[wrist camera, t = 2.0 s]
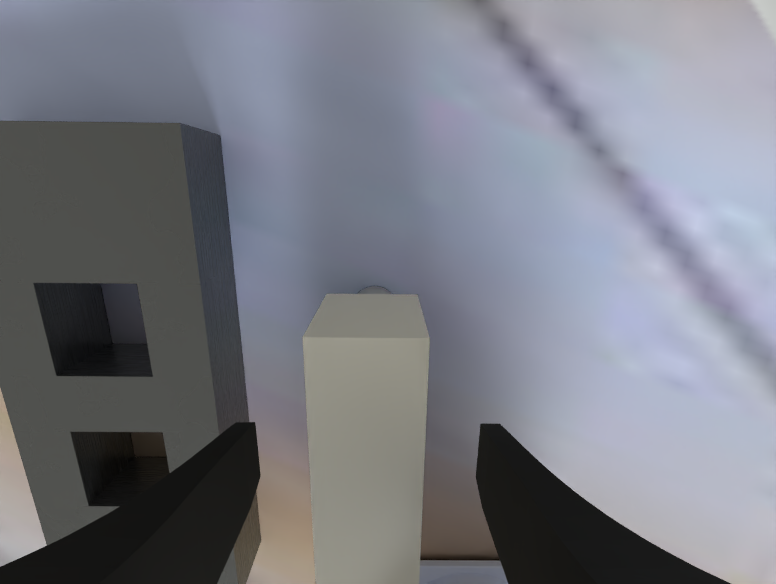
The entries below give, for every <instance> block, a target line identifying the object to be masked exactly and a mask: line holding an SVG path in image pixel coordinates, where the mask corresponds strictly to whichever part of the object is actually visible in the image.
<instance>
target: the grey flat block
mask: <svg viewBox="0 0 776 584" xmlns="http://www.w3.org/2000/svg"><path fill="white" fill-rule="evenodd" d="M100 283H117V284H137V287H138V293H139V299H140V304H141V310H142V316H143V322H144V328H145V333H146V339H147V344H112V341H111V336H110V331H109V326H108V321H107V316H106V311H105V306H104V301H103V296H102V291H101V286H100ZM0 387H1V391H2V394H3V398H4V401H5V404H6V408H7V411H8V415H9V418H10V421H11V425H12V428H13V432H14V435H15V438H16V442H17V445H18V449H19V452H20V455H21V459H22V462H23V465H24V469H25V472H26V476H27V479H28V482H29V486H30V489H31V493H32V496H33V499H34V503H35V506H36V510H37V513H38V516H39V520H40V523H41V527H42V530H43V533H44V537H45V540H46V544H47V545H49V544H51V543H53V542H55V541H57V540H59V539H62V538H64V537H65V536H67V535H69V534H71V533H73V532H75V531H77V530H79V529H80V528H82V527H84V526H86V525H88V524H90V523H91V522H93V521H95V520H97V519H99V518H101V517H103V516H104V515H106V514H108V513H110V512H111V511H113V510H115V509H117V508H118V507H120V506H121V505H123V504H125V503H126V502H128V501H130V500H131V499H133V498H134V497H136V496H138V495H139V494H141V493H142V492H144V491H145V490H147V489H148V488H150V487H151V486H153V485H154V484H156V483H157V482H158V481H160V480H161V479H162V478H164V477H165V476H167V475H168V474H169V473H171V472H172V471H174V470H175V469H176V468H178V467H179V466H181V465H182V464H183V463H185V462H186V461H187V460H189V459H190V458H191V457H192V456H194V455H195V454H196V453H197V452H199V451H200V450H201V449H203V448H204V447H205V446H206V445H208V444H209V443H210V442H211V441H213V440H214V439H215V438H216V437H218V436H219V435H220V434H221V433H223V432H224V431H225V430H226V429H228V428H229V427H230V426H232V425H233V424H234V423H236V422H249V416H248V406H247V396H246V386H245V376H244V366H243V356H242V346H241V337H240V327H239V317H238V307H237V297H236V287H235V277H234V267H233V257H232V247H231V237H230V227H229V217H228V207H227V198H226V188H225V178H224V168H223V158H222V148H221V138H220V135H218V134H214V133H211V132H208V131H204V130H201V129H198V128H194V127H191V126H188V125H185V124H181V123H132V122H50V121H0ZM130 432H163V438H164V443H165V449H166V455H167V457H135V456H134V451H133V446H132V441H131V436H130ZM260 542H261V535H260V525H259V515H258V505H257V495H256V493H255V496H254V499H253V502H252V505H251V508H250V511H249V513H248V515H247V518H246V520H245V522H244V525H243V527H242V529H241V531H240V534H239V536H238V538H237V540H236V543H235V545H234V547H233V549H232V552H231V554H230V556H229V558H228V561H227V563H226V565H225V567H224V570H223V572H222V574H221V576H220V578H219V581H218V583H217V584H246V582H247V579H248V576H249V573H250V570H251V568H252V565H253V562H254V559H255V556H256V553H257V551H258V548H259V545H260Z"/></svg>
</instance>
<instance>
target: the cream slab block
mask: <svg viewBox="0 0 776 584" xmlns="http://www.w3.org/2000/svg"><path fill="white" fill-rule="evenodd" d="M429 346H430V337H429V334H428V330H427V327H426V323H425V320H424V316H423V312H422V309H421V305H420V302H419V298H418V295H417V294H392V293H391V292H389V291H388V290H387V289H385V288H382V287H379V286H370V287H366V288H364V289H362V290H361V291H359V292H358V293H357V294H326V296H325V297H324V299H323V301H322V303H321V305H320V307H319V308H318V310H317V312H316V314H315V316H314V317H313V319H312V321H311V323H310V325H309V326H308V328H307V330H306V332H305V334H304V335H303V356H304V375H305V393H306V412H307V431H308V449H309V468H310V487H311V505H312V524H313V543H314V561H315V580H316V584H419V576H420V553H421V530H422V507H423V484H424V461H425V438H426V415H427V392H428V369H429Z"/></svg>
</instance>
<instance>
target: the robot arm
mask: <svg viewBox="0 0 776 584" xmlns="http://www.w3.org/2000/svg"><path fill="white" fill-rule="evenodd" d="M259 479H260V466H259V456H258V446H257V436H256V425H255V422H236V423H234V424H233V425H232V426H230V427H229V428H228V429H226V430H225V431H224V432H223V433H221V434H220V435H219V436H218V437H216V438H215V439H214V440H213V441H211V442H210V443H209V444H208V445H206V446H205V447H204V448H203V449H201V450H200V451H199V452H197V453H196V454H195V455H194V456H192V457H191V458H190V459H189V460H187V461H186V462H185V463H183V464H182V465H181V466H179V467H178V468H176V469H175V470H174V471H172V472H171V473H169V474H168V475H167V476H165V477H164V478H162V479H161V480H160V481H158V482H157V483H156V484H154V485H153V486H151V487H150V488H148V489H147V490H145V491H144V492H142V493H141V494H139V495H138V496H136V497H134V498H133V499H131V500H130V501H128V502H126V503H125V504H123V505H121V506H120V507H118V508H117V509H115V510H113V511H111V512H110V513H108V514H106V515H104V516H103V517H101V518H99V519H97V520H95V521H93V522H91V523H90V524H88V525H86V526H84V527H82V528H80V529H79V530H77V531H75V532H73V533H71V534H69V535H67V536H65V537H64V538H62V539H59V540H57V541H55V542H53V543H51V544H49V545H47V546H45V547H43V548H41V549H39V550H37V551H35V552H32V553H30V554H28V555H26V556H24V557H22V558H19V559H17V560H15V561H13V562H10V563H8V564H6V565H4V566H1V567H0V584H217V583H218V581H219V578H220V576H221V574H222V572H223V570H224V567H225V565H226V563H227V561H228V558H229V556H230V554H231V552H232V549H233V547H234V545H235V543H236V540H237V538H238V536H239V534H240V531H241V529H242V527H243V525H244V522H245V520H246V518H247V515H248V513H249V511H250V508H251V505H252V502H253V499H254V496H255V493H256V489H257V486H258V483H259ZM476 480H477V485H478V490H479V495H480V499H481V503H482V508H483V511H484V514H485V517H486V520H487V523H488V526H489V529H490V532H491V535H492V538H493V541H494V544H495V547H496V550H497V553H498V556H499V558H500V561H496V560H420V576H419V584H731V583H728V582H726V581H724V580H722V579H720V578H718V577H716V576H713V575H711V574H709V573H707V572H705V571H703V570H701V569H699V568H697V567H695V566H693V565H691V564H689V563H687V562H685V561H683V560H681V559H680V558H678V557H676V556H674V555H672V554H670V553H668V552H666V551H665V550H663V549H661V548H659V547H658V546H656V545H654V544H652V543H651V542H649V541H647V540H645V539H644V538H642V537H640V536H639V535H637V534H636V533H634V532H632V531H631V530H629V529H628V528H626V527H624V526H623V525H621V524H619V523H618V522H616V521H615V520H613V519H612V518H610V517H609V516H607V515H606V514H604V513H603V512H602V511H600V510H599V509H597V508H596V507H595V506H593V505H592V504H590V503H589V502H588V501H586V500H585V499H583V498H582V497H581V496H580V495H578V494H577V493H576V492H574V491H573V490H572V489H571V488H569V487H568V486H567V485H566V484H565V483H563V482H562V481H561V480H560V479H558V478H557V477H556V476H555V475H554V474H553V473H551V472H550V471H549V470H548V469H547V468H546V467H545V466H543V465H542V464H541V463H540V462H539V461H538V460H537V459H536V458H535V457H534V456H533V455H531V454H530V453H529V452H528V451H527V450H526V449H525V448H524V447H523V446H522V445H521V444H520V443H519V442H518V441H517V440H516V439H515V438H514V437H513V436H512V435H511V434H510V433H509V432H508V431H507V430H506V429H505V428H504V427H503V426H501V425H500V424H481V425H480V436H479V447H478V459H477V470H476Z"/></svg>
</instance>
